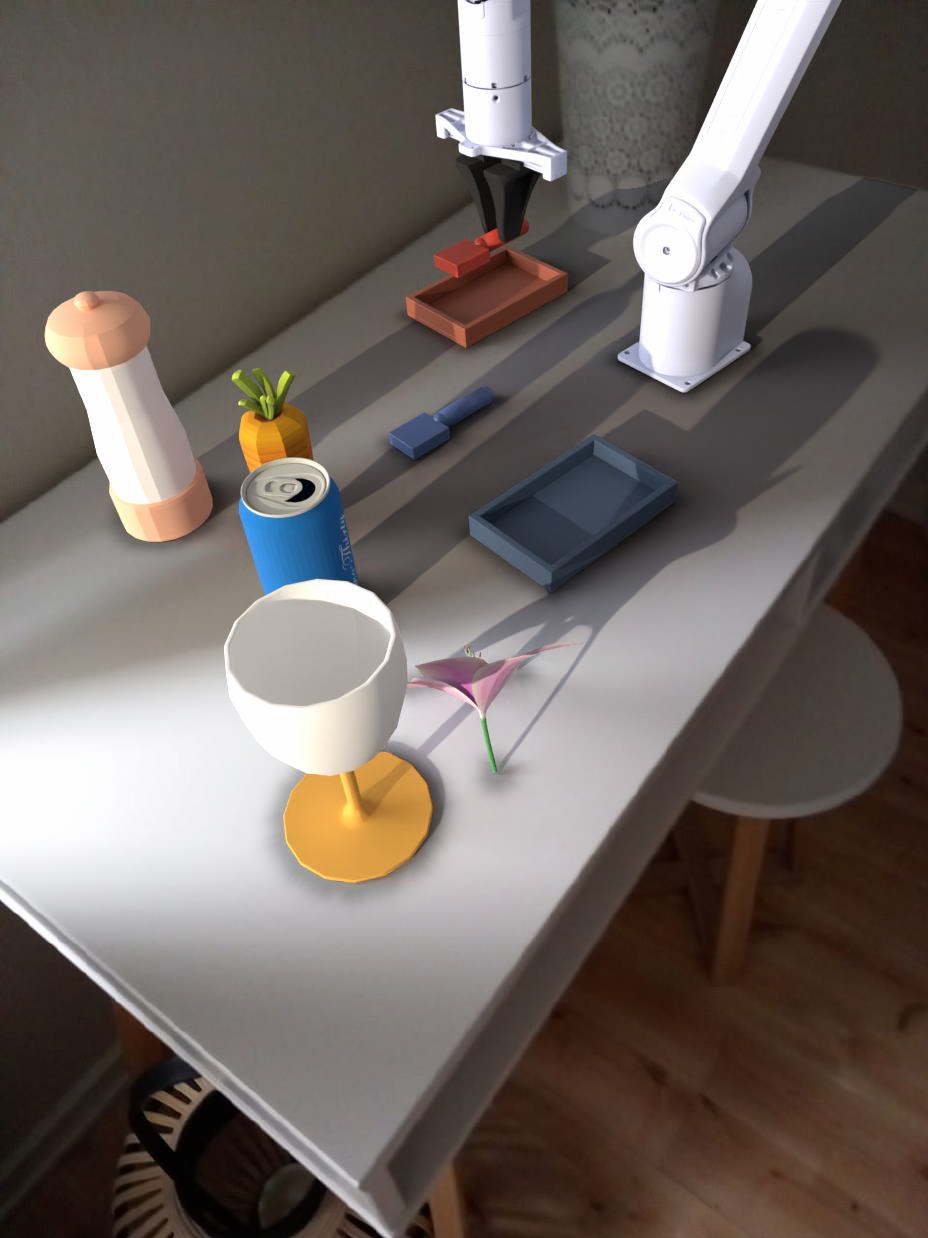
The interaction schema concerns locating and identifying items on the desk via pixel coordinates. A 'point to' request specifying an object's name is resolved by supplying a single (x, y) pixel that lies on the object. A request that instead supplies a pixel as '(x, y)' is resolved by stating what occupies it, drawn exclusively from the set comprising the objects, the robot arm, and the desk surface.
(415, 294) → the red tray
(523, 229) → the red handled block
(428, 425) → the blue handled block
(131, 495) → the pepper shaker
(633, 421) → the desk surface
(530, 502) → the blue tray
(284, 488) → the beverage can
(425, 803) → the cup
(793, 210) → the desk surface
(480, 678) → the lily
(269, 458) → the carrot
